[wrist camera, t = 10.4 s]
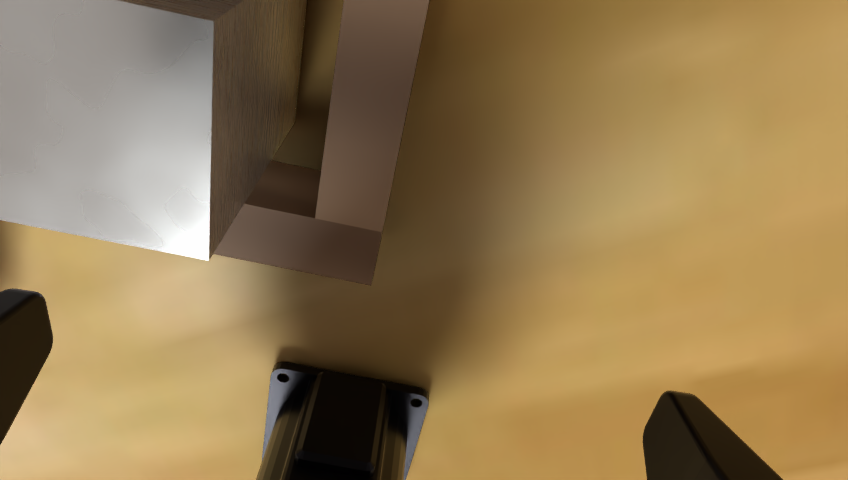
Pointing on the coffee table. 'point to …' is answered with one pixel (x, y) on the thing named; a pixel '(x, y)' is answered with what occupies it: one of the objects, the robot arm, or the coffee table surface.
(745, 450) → the robot arm
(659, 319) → the coffee table surface
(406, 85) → the well block
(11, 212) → the rectangular block
